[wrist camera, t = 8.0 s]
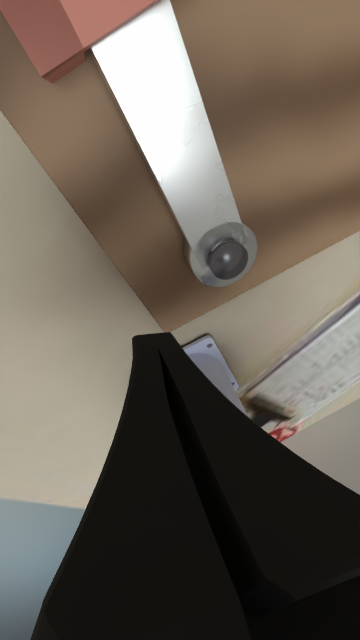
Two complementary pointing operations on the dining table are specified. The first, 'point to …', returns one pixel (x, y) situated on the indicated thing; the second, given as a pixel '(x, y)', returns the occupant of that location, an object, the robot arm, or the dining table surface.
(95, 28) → the keeper
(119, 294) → the dining table surface
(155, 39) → the link
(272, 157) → the board
